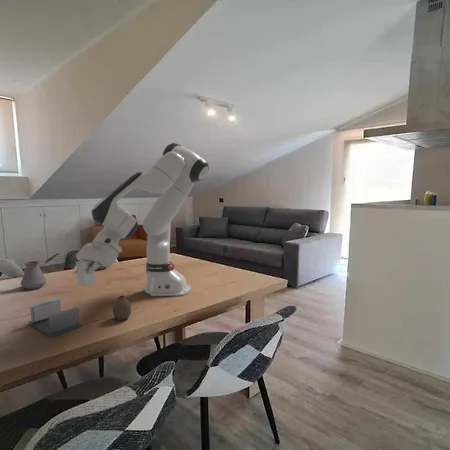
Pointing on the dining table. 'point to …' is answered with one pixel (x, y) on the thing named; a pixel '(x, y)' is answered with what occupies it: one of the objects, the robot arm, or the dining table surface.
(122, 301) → the vase
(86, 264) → the steel block
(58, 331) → the vise
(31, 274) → the coffee pot
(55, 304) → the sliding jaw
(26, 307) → the dining table surface
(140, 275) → the dining table surface
